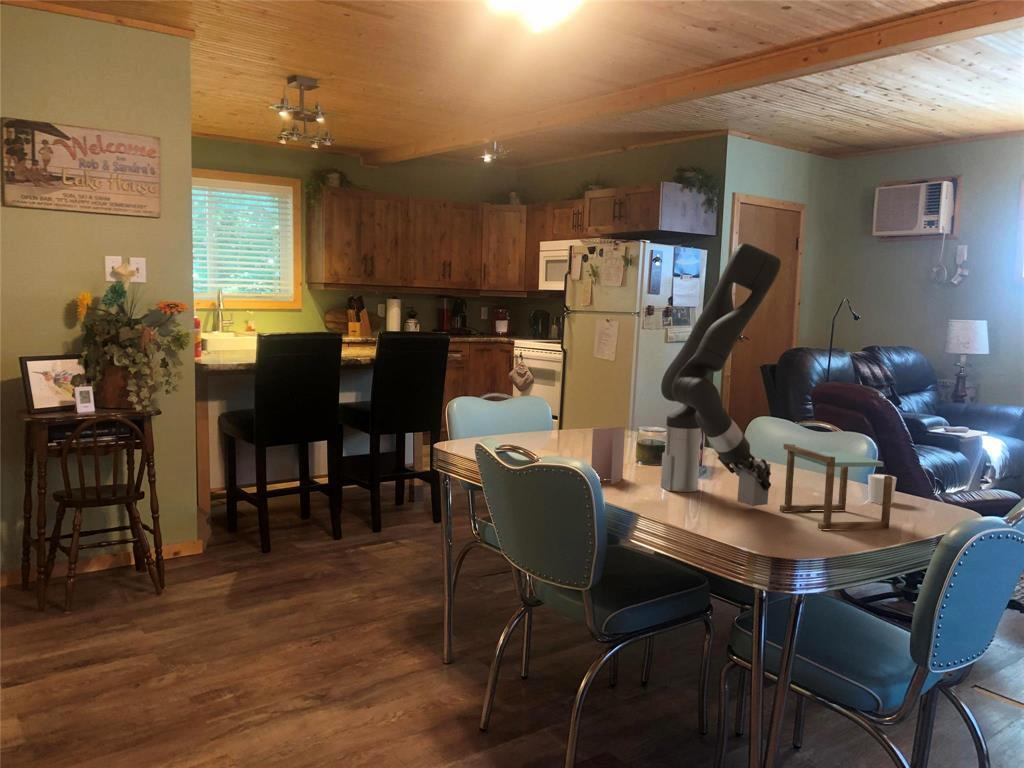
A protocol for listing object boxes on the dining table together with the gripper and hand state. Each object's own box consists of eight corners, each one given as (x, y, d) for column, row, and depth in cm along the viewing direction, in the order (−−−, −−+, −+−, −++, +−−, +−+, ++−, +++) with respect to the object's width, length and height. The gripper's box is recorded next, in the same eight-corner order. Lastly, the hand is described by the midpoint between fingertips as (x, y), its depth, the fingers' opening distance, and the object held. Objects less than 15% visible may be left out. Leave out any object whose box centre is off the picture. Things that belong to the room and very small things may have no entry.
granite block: (752, 506, 186) (756, 465, 185) (737, 501, 190) (740, 461, 189) (767, 504, 188) (770, 463, 188) (751, 499, 193) (754, 460, 192)
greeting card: (620, 477, 224) (622, 426, 223) (637, 482, 218) (639, 430, 217) (588, 481, 218) (590, 428, 217) (605, 486, 212) (607, 432, 211)
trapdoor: (827, 466, 173) (827, 462, 173) (793, 455, 187) (793, 451, 187) (883, 466, 176) (883, 462, 176) (846, 455, 189) (846, 451, 189)
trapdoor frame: (820, 530, 172) (825, 456, 171) (779, 510, 189) (783, 443, 188) (888, 529, 175) (894, 456, 174) (842, 509, 192) (846, 443, 191)
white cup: (900, 505, 200) (902, 478, 199) (877, 505, 198) (879, 478, 198) (883, 499, 206) (885, 473, 206) (860, 499, 205) (862, 473, 205)
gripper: (759, 432, 178) (790, 480, 185) (713, 423, 190) (745, 468, 197) (741, 456, 176) (773, 503, 183) (696, 445, 188) (728, 490, 195)
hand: (758, 485), depth 190 cm, fingers closed on granite block, 5 cm apart
